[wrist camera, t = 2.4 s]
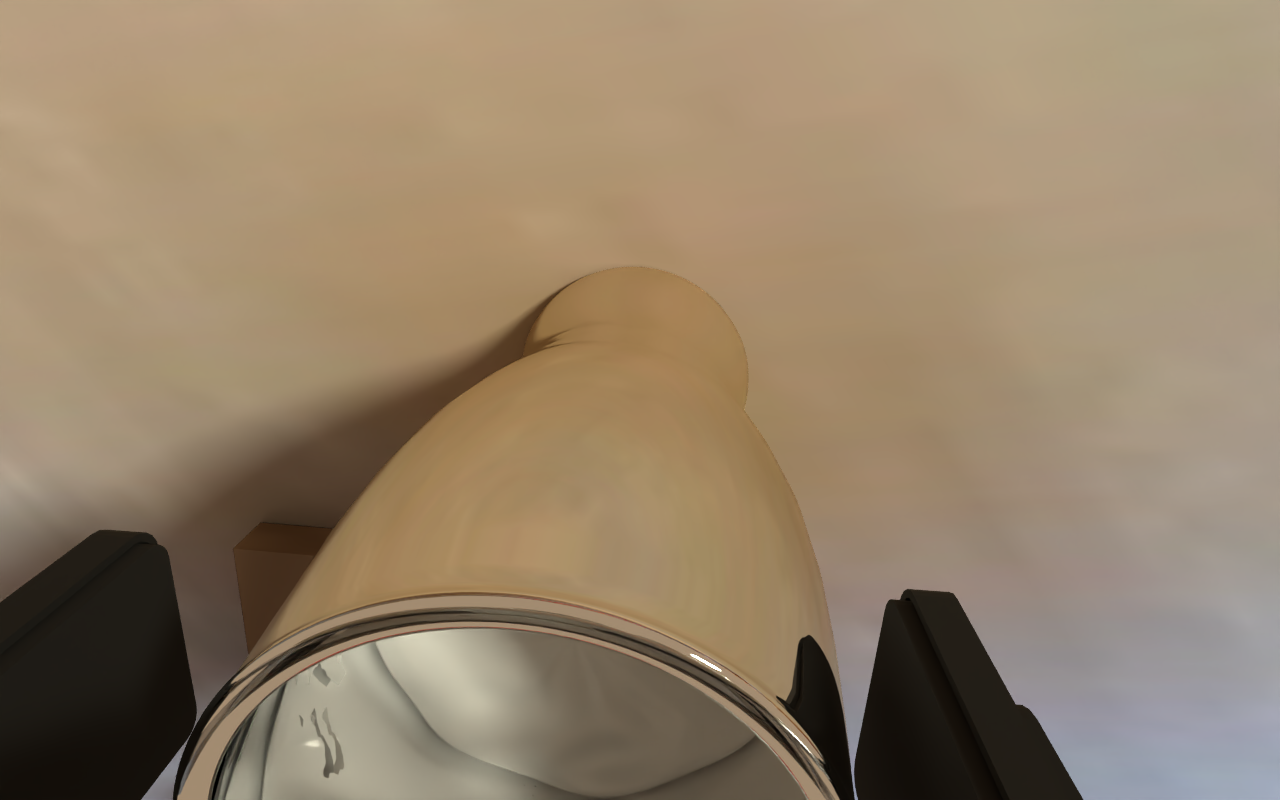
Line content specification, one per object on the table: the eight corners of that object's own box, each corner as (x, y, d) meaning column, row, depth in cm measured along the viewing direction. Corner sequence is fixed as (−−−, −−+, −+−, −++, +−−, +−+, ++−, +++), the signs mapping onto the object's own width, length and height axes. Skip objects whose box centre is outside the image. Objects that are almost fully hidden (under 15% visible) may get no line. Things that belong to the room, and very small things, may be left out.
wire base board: (726, 563, 23) (728, 592, 22) (689, 902, 28) (688, 944, 27) (260, 522, 24) (233, 548, 22) (304, 861, 29) (283, 900, 27)
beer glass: (566, 521, 23) (361, 1168, 9) (465, 301, 21) (-6, 700, 7) (798, 449, 22) (977, 1074, 8) (714, 207, 20) (753, 463, 6)
